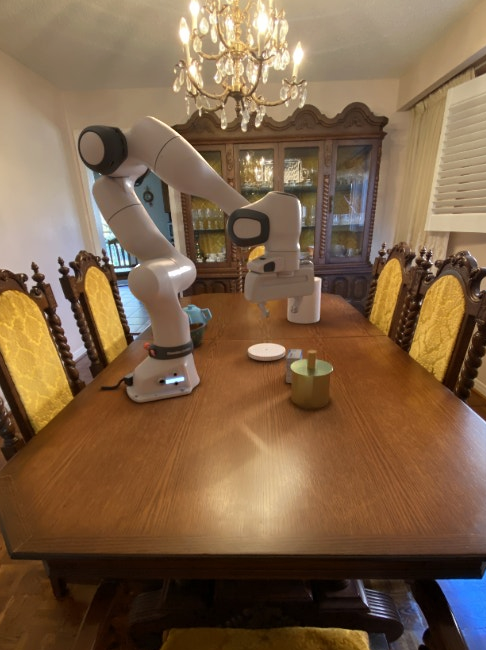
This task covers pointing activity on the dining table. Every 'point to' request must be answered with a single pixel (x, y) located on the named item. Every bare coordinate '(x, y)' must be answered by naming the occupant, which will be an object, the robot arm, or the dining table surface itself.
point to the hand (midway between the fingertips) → (280, 315)
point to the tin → (310, 391)
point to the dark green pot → (196, 333)
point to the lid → (311, 366)
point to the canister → (307, 306)
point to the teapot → (197, 314)
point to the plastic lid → (266, 351)
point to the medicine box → (292, 357)
